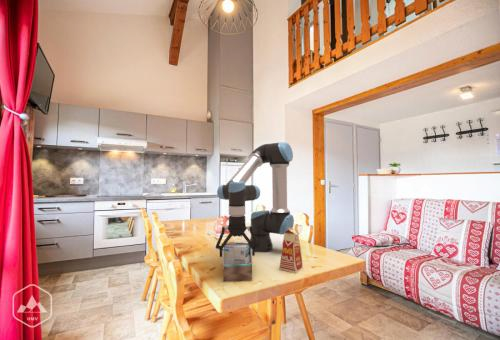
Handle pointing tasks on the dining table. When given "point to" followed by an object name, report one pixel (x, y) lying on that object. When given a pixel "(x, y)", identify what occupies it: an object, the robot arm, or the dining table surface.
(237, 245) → the light bulb box
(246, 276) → the rack
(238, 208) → the robot arm
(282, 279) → the dining table surface
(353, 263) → the dining table surface
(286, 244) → the milk carton
